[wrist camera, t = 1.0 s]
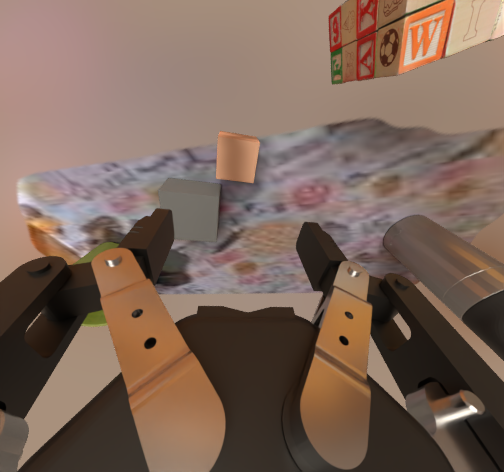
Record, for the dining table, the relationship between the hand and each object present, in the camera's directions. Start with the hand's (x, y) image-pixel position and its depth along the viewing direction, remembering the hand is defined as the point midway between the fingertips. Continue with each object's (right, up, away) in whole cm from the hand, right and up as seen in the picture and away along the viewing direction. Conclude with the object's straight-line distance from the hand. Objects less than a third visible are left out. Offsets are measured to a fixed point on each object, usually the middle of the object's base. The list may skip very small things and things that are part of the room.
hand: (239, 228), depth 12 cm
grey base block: (-9, +5, +20) cm, 23 cm away
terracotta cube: (-2, +12, +16) cm, 20 cm away
